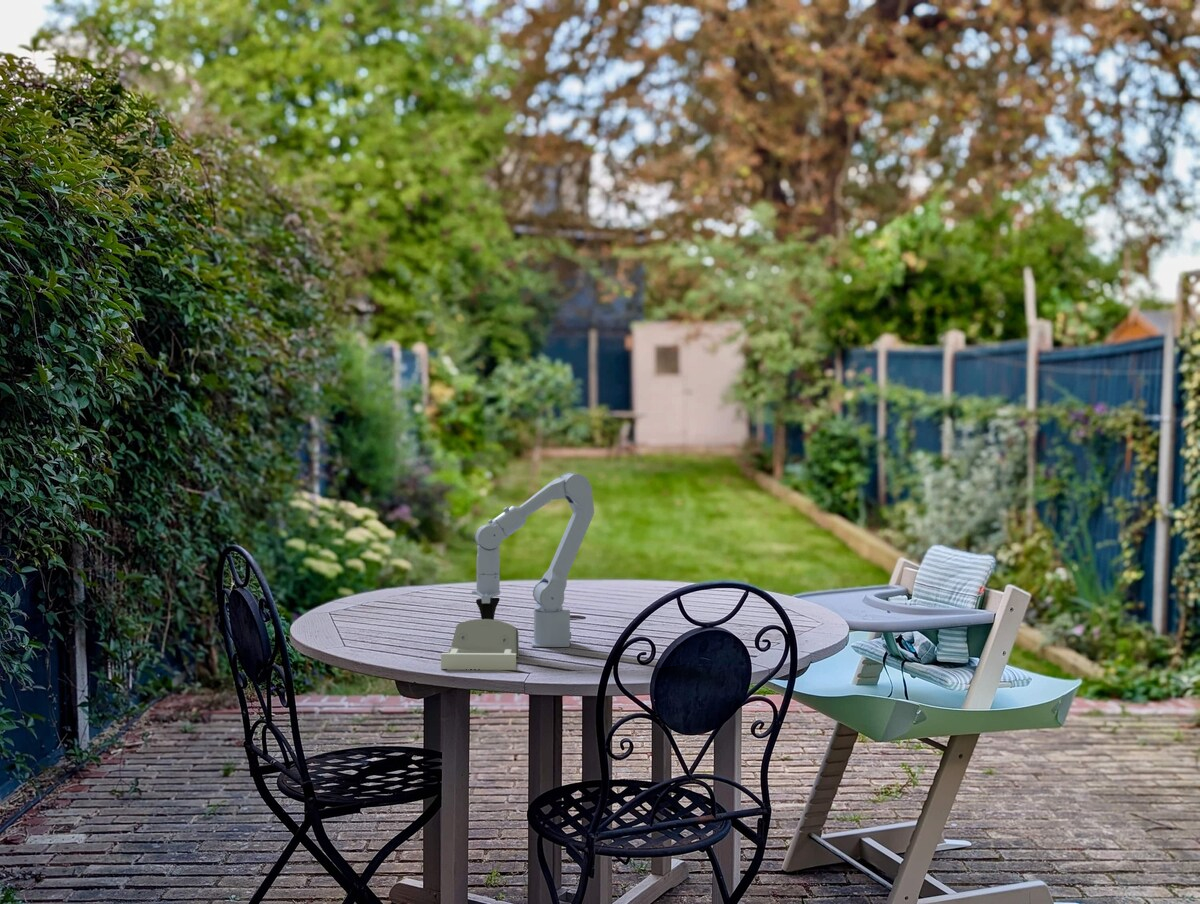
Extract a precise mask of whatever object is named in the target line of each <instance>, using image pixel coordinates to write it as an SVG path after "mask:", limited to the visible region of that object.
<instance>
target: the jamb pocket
mask: <svg viewBox="0 0 1200 904" xmlns="http://www.w3.org/2000/svg"><path fill="white" fill-rule="evenodd" d="M441 669H447V670H454V671H455V670H456V671H457V670H459V671H460V670H461V671H463V670H464V671H467V670H470V669H472V670H470V671H475V670H474V669H476V671H479V670H478V669H480V671H516V670H517V658H516V653H512V649H505V651H504V653H458V649H451V651H450V653H449V652H441V654H440V670H441ZM466 669H467V670H466Z"/></svg>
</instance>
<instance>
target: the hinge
mask: <svg viewBox="0 0 1200 904" xmlns="http://www.w3.org/2000/svg"><path fill="white" fill-rule="evenodd" d="M519 640H520V639H519V630H518V628H517V627H515V626H514V625H512V624H510V623H507V622H505V621H501V620H497V619H494V620H491V619H482V618H476V619H470V620H465V621H462V622H459V623H458V624H457V625H456V627H455V631H454V633H453V638H452V642H451V646H450V648H449V651H448V653H450V651H451V649H458V653H504V651H505V649H512V653H516V657H517V658H516V659H518V658H519V657H520V656H519V654H520V653H519V652H520V651H519V649H520V648H519V647H520V645H519Z"/></svg>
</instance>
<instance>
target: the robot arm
mask: <svg viewBox="0 0 1200 904" xmlns="http://www.w3.org/2000/svg"><path fill="white" fill-rule="evenodd" d="M593 490H594V489H593V487H592V485H591V483H590V481H589V479H588V478H587V477H586V476H585V475H584V474H580V473H575V472H564V473H563V474H562V475H560V477H556V478H555V479H553V480H551V481H550V482H549V483H547V484H546V485H545V486H543V487H542V488H541V489H540V490H539V491H538V492H537V491H536V493H535V494H533V495H532V496H531V497H530V498H528V499H527V500H526V501H524V502H523V503H522V504H520V505H519V506H516V505H511V506H510V507H509V506H505V507H504V508H503V509H502V511H503V512H501V513H500V514H498V515H497V516H496V517H494V518H493V519H492V518H490V519H489V520H487V522H488V524H483V525H481V526H479V528H478V529H477V530H476V532H475V535H474V540H475V542H476V544H477V546H476V547H477V548H476V552H477V554H476V589H475V590H474V589H472V590H471V594H472V595H476V596H477V597H480V598H477V599H476V600H475V603H476V605H477V607H478V610H479V613H480V619H491V620H495V613H496V609H497V606H498V604H499V602H500V598H499V597H498V596H499V595H500V594H501V590H500V587H501V586H500V584H501V583H500V579H501V578H500V574H501V573H500V570H501V569H500V565H501V564H500V563H501V562H500V561H501V560H500V559H501V558H500V557H501V556H500V546H501V544H502V542H503V540H505V539H507V538H508V537H510V536H511V535H513V534H514V533H515V532H517V531H518V530H519V529H521V528H522V527H523V526H525V525H526V523H527V522H526V521H527V518H528V516H530V515H532V514H533V513H535V512H536V511H538V510H540V509H541V508H543V506H545V505H547V504H548V503H550V502H551V501H553V500H561V499H562V500H563V499H564V500H566V501H567V503H568V505H569V507H570V509H571V510H572V514H571V517H570V519H569V521H568V524H567V525H566V529H565V530H564V533H563V535H562V537H561V540H560V541H559V544H558V546H557V548H556V551H555V553H554V556H553V558H552V560H551V562H550V565H549V568H548V569H547V571H546V572H545V573H543V575H542V578H541V580H539V582H538V583H537V584H535V586H534V587H533V590H532V597H533V600H534V601H535V602H536V604H535V605H534V607H533V639H532V642H531V647H532V648H533V647H534V648H537V647H538V648H570V647H569V646H570V644H571V642H570V641H571V640H572V632H571V610H570V609H563V604H564V602H565V590H566V588H567V581H568V575H569V573H570V570H571V569H572V566H573V563H574V561H575V559H576V557H577V554H578V552H579V550H580V547H581V545H582V543H583V541H584V538H585V535H586V534H587V531H588V529H589V527H590V525H591V522H592V520H593V517H594V514H595V506H594V505H595V504H594V497H593ZM496 596H497V597H496Z"/></svg>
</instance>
